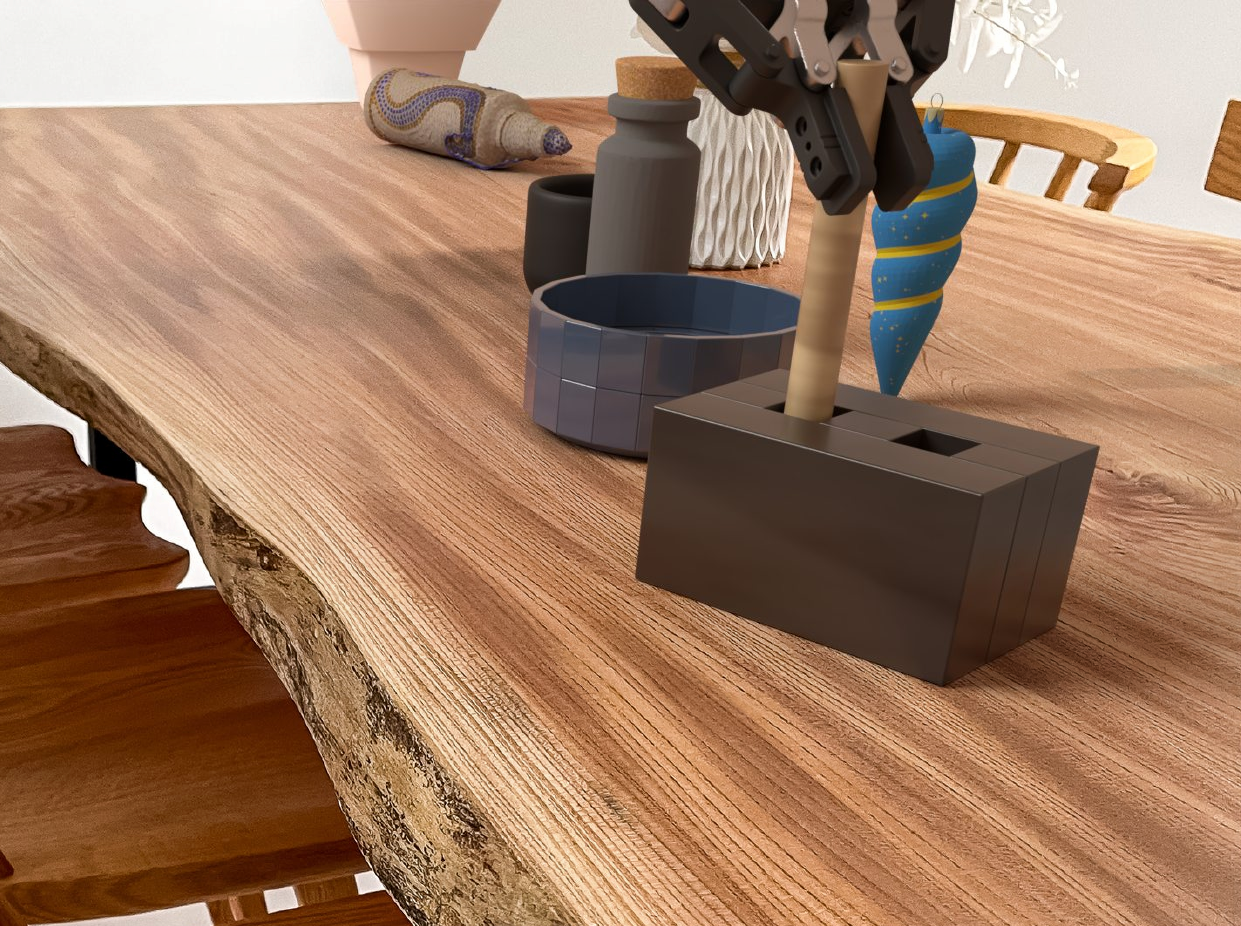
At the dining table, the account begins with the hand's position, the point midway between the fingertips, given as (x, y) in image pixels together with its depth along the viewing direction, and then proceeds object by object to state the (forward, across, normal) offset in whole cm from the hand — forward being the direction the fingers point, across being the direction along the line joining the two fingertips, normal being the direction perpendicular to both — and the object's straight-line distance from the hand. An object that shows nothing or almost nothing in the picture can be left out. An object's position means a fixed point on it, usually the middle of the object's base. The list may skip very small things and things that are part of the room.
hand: (881, 197), depth 61 cm
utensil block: (+11, +1, +10) cm, 15 cm away
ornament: (-5, +21, +26) cm, 34 cm away
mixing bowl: (-5, +7, +27) cm, 28 cm away
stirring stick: (+9, 0, +12) cm, 15 cm away
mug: (-21, +17, +43) cm, 50 cm away
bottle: (-16, +15, +38) cm, 44 cm away
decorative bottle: (-60, +35, +81) cm, 107 cm away
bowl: (-78, +42, +100) cm, 133 cm away
